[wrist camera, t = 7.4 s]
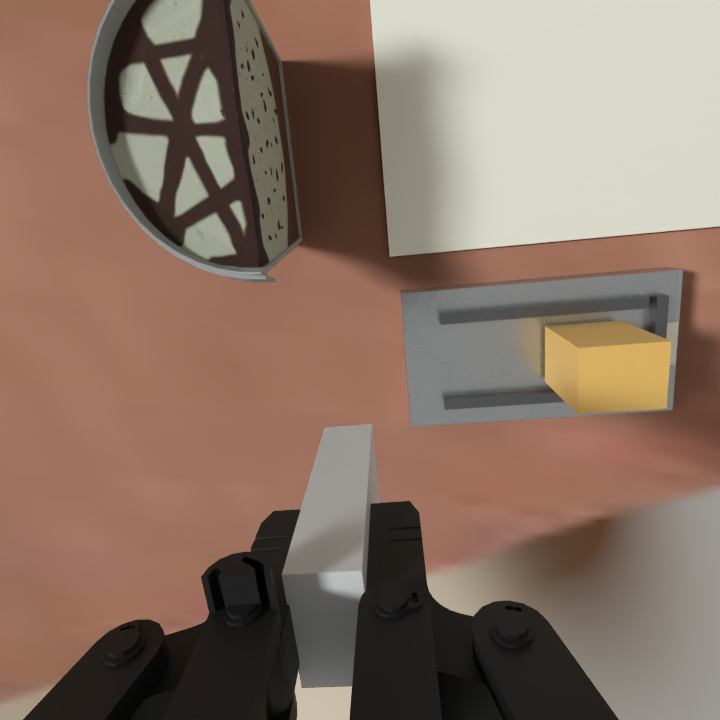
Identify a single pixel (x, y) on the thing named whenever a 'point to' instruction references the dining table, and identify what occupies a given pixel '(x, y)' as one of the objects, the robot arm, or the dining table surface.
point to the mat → (546, 119)
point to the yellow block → (607, 366)
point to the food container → (196, 131)
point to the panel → (519, 340)
